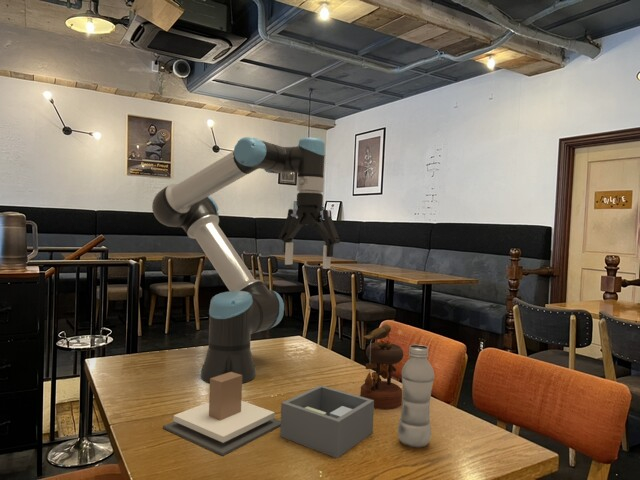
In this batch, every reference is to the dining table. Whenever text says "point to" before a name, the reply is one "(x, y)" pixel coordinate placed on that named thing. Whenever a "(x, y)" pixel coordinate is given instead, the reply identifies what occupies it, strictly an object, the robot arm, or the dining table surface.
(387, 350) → the music box
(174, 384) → the dining table surface
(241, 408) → the lid
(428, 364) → the plastic bottle
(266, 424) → the mat
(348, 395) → the box
